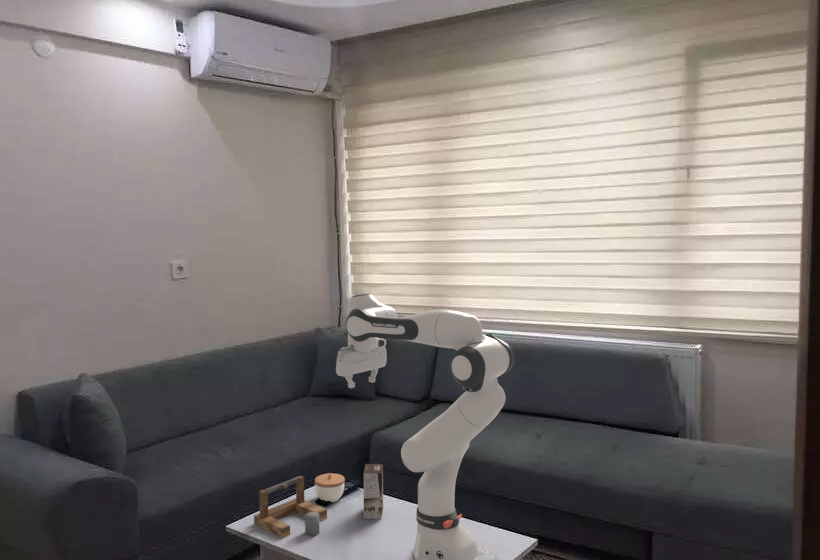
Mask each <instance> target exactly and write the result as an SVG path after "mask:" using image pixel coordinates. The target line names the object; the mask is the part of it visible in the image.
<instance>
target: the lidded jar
mask: <svg viewBox="0 0 820 560" xmlns="http://www.w3.org/2000/svg"><path fill="white" fill-rule="evenodd" d="M345 481H346V479H345V477H344V475H341V474H340V473H331V472H330V473H329V472H328V473H323V474H320V475H317V476H316V477H315V479H314V487H315V492H316V495H317V497H318V498H319V499H320V500H321V501H322V500H324V501H330V502H332V504H333V503H336V502H338V501H339V499H340V498H341V497H342V496H343V494H344V492H345Z"/></svg>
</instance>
